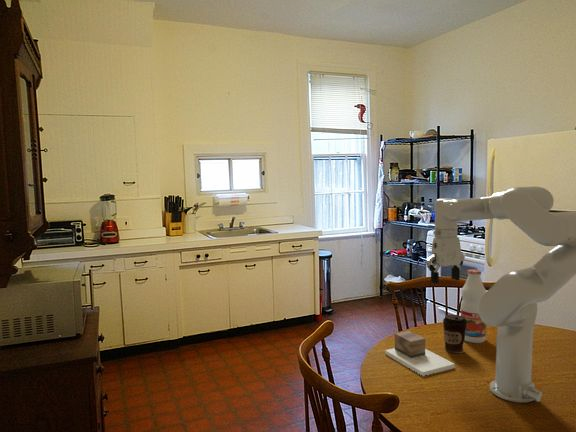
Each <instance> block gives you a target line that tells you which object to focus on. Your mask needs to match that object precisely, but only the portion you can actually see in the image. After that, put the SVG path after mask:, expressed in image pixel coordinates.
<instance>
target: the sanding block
mask: <svg viewBox="0 0 576 432" xmlns="http://www.w3.org/2000/svg"><path fill="white" fill-rule="evenodd" d="M394 348H395V350H397V351H399V352H401V353H403V354H404V355H406V356H408V357H410V358H414V357H418V356H422V355H425V349H426V338H425V337H423V336H421V335H419V334H417V333H414V332H412V331H410V330H405V331H401V332H395V333H394Z"/></svg>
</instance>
